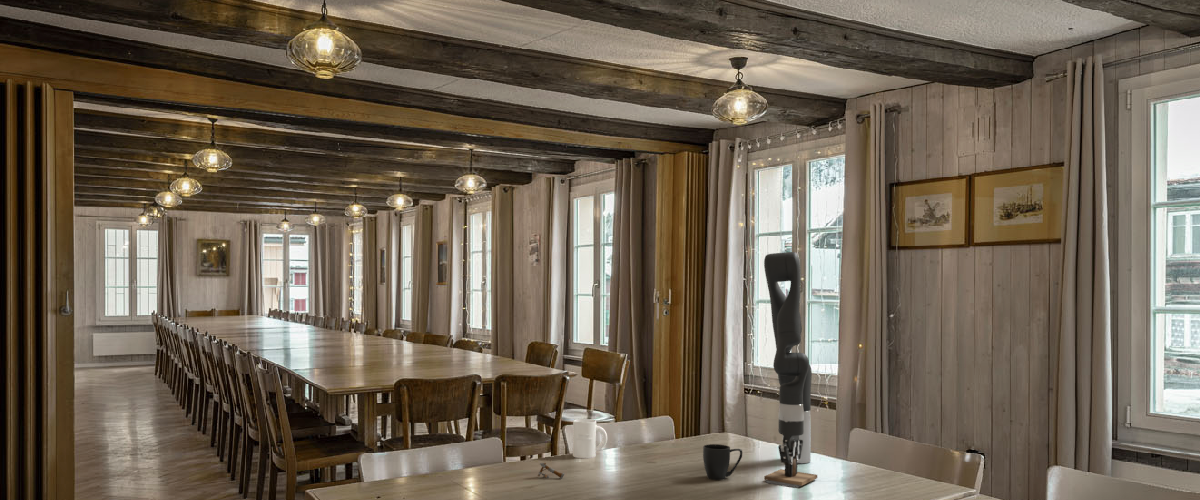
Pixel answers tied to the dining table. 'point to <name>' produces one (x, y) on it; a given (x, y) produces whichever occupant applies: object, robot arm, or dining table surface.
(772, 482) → the mat
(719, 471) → the mug
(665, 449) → the dining table surface
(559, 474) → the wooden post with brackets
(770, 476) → the lid
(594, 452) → the mug
